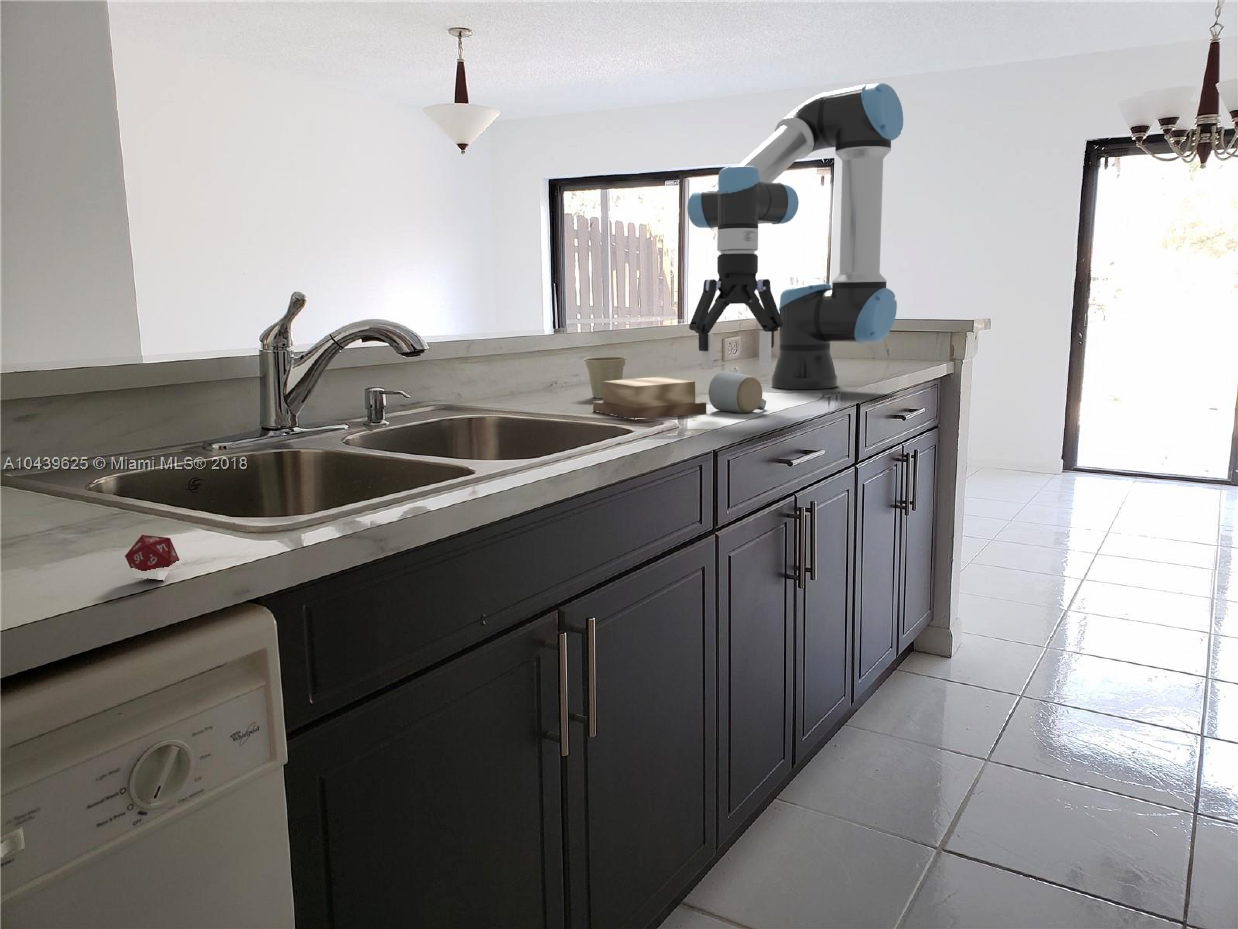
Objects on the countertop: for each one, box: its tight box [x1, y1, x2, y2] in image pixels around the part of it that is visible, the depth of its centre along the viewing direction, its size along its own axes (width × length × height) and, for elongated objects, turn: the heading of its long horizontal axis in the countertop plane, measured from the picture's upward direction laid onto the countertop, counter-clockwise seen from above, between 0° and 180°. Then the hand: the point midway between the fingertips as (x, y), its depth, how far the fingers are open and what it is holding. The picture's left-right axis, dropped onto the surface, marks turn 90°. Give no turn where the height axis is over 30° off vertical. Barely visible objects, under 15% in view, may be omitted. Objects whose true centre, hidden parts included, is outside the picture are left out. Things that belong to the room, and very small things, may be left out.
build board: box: [592, 400, 707, 419], centre depth 182 cm, size 16×16×2 cm
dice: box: [124, 534, 180, 571], centre depth 82 cm, size 4×4×4 cm
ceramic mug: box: [708, 370, 767, 414], centre depth 180 cm, size 11×8×8 cm
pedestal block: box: [602, 376, 696, 408], centre depth 182 cm, size 13×13×4 cm
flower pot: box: [583, 356, 627, 399], centre depth 208 cm, size 9×9×9 cm
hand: (736, 367), depth 179 cm, fingers open, 13 cm apart
